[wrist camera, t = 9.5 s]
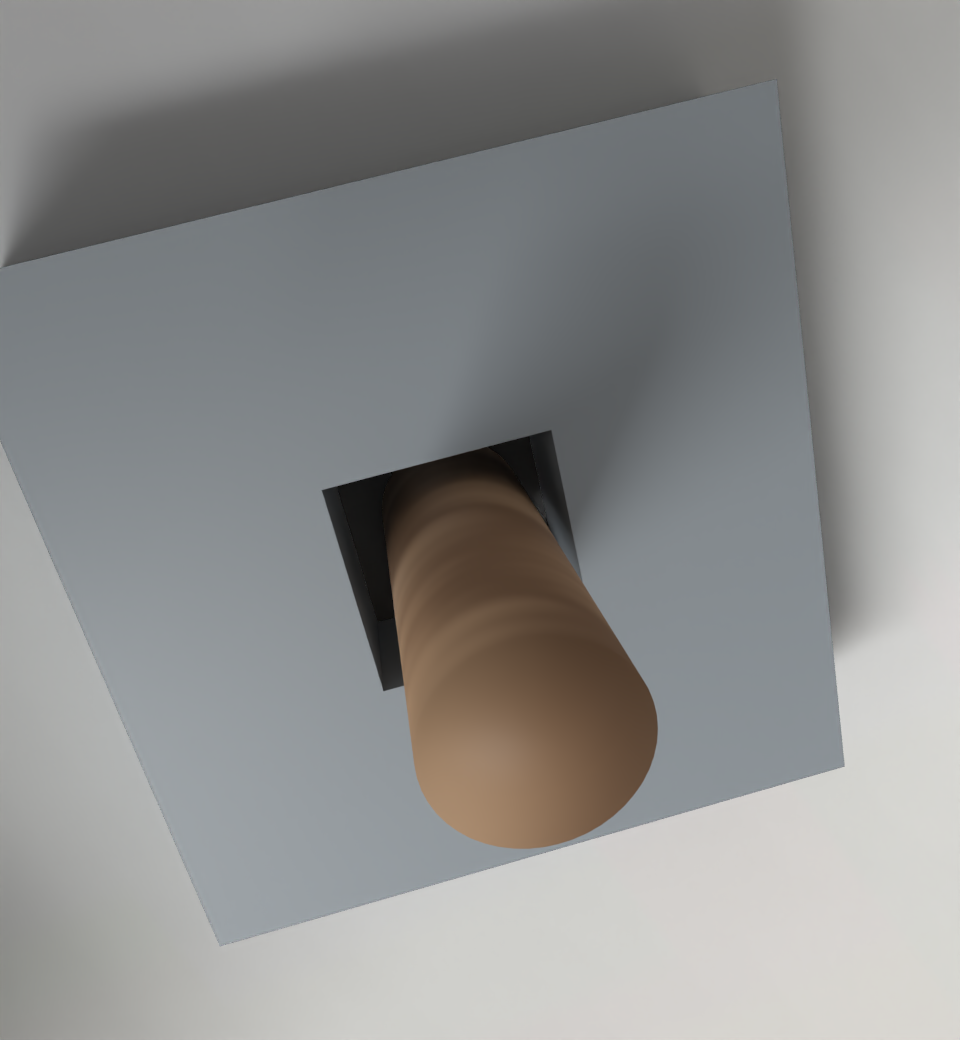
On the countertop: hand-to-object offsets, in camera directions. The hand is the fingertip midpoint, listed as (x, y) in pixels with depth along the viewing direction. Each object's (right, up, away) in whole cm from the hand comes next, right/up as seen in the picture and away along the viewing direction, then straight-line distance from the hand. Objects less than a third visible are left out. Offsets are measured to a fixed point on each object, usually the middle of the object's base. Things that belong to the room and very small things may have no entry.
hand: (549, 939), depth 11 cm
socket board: (-2, +5, +15) cm, 16 cm away
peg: (-2, +6, +15) cm, 16 cm away
